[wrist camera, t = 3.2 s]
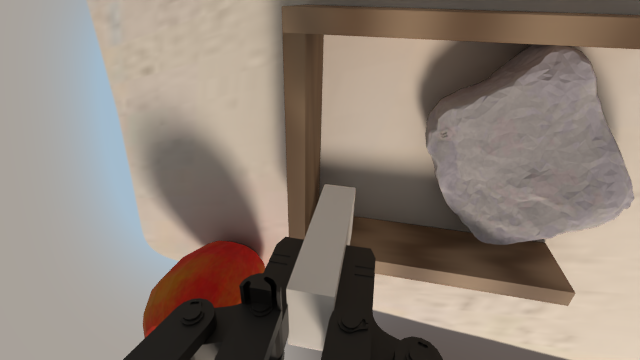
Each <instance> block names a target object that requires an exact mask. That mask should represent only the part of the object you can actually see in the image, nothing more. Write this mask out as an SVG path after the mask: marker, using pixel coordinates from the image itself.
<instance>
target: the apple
mask: <svg viewBox="0 0 640 360" xmlns="http://www.w3.org/2000/svg"><path fill="white" fill-rule="evenodd" d="M264 270H265V266H264V263H263V261H262V260H261V258H260V257H259V256H258V254H257V253H256V252H255V251H253V250H252V249H250V248H248V247H247V246H245V245H242V244H239V243H235V242H229V241H216V242H212V243H209V244H207V245H205V246H203V247H201V248H200V249H198V250H196V251H194V252H192V253H190V254H188V255H187V256H185V257H183V258H182V259H181V260H180V261H179V262H178V263H177V264H176V265H175V266H174V267H173V268H172V269H171V270H170V271H169V272H168V273H167V274H166V275H165V276H164V277H163V278H162V279H161V280H160V281H159V282H158V284H157V285H156V286H155V287H154V289H153V290H152V291H151V294H150V297H149V300H148V303H147V306H146V309H145V312H144V318H143V329H144V336H145V338H146V337H147V336H148V335H149V334H150V333H151V332H152V331H153V330H154V329H155V328H156V327H157V326H158V325H159V324H160V323H161V322H162V321H163V320H164V319H165V318H166V317H167V316H168V315H169V314H170V313H171V312H172V311H173V310H174V309H176V308H177V307H178V306H179V305H181V304H182V303H183V302H186V301H188V300H191V299H196V298H202V299H207V300H208V301H210V302H211V303H212V304H213V306H214V308H217V307H226V306H233V305H237V304H240V303H241V295H240V288H239V285H240V284H241V282H242V281H243V280H244V279H246V278H247V277H249V276H250V275H254V274H258V273H264Z"/></svg>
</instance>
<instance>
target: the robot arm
mask: <svg viewBox="0 0 640 360" xmlns="http://www.w3.org/2000/svg"><path fill="white" fill-rule="evenodd" d="M355 191H356V188H355V187H346V186H338V185H329V184H324V187H323V190H322V193H321V195H320V198H319V201H318V204H317V206H316V209H315V212H314V214H313V217H312V220H311V223H310V225H309V228H308V231H307V233H306V236H305V239H297V238H290V237H285V238H284V239H282V240H281V241H280V242H279V243H278V244H277V245H276V247H275V249H274V251H273V254H272V256H271V258H270V260H269V263H268V264H267V266H266V268H265V270H264V273H258V274H254V275H250V276H249V277H247V278H246V279H244V280H243V281H242V282H241V284H240V285H239V288H240V295H241V303H240V304H237V305H233V306H226V307H217V308H214V306H213V304H212V303H211V302H210V301H208V300H207V299H202V298H196V299H191V300H188V301H186V302H183V303H182V304H181V305H179V306H178V307H177V308H176V309H174V310H173V311H172V312H171V313H170V314H169V315H168V316H167V317H166V318H165V319H164V320H163V321H162V322H161V323H160V324H159V325H158V326H157V327H156V328H155V329H154V330H153V331H152V332H151V333H150V334H149V335H148V336H147V337H146V338H145V339H144V340H143V341H142V342H141V343H140V344H139V345H138V346H137V347H136V348H135V349H134V350H132V351H131V353H130V354H128V355H127V356H126V357H125V358H124V359H123V360H284V347H285V344H286V341H287V338H288V344H289V345H295V346H299V347H304V348H310V349H314V350H320V351H323V352H322V357H321V360H443V359H442V357H441V355H440V353H439V352H438V350H437V349H436V348H435V347H434V346H433V345H432V344H431V343H430V342H428V341H426V340H424V339H422V338H417V337H408V338H404V339H402V340H399V339H396V338H395V337H393V336H391V335H389V334H387V333H386V332H384V331H383V330H382V329H381V328H380V327H379V326H378V325H377V323H376V322H375V320H374V318H373V312H372V307H373V292H374V276H375V261H376V258H375V256H374V254H373V252H372V250H371V248H364V247H357V246H350V240H351V234H352V224H353V213H354V202H355Z"/></svg>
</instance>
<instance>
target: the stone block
mask: <svg viewBox="0 0 640 360" xmlns="http://www.w3.org/2000/svg"><path fill="white" fill-rule="evenodd" d="M426 146H427V149H428V152H429V154H430V155H431V156H432V160H433V163H434V168H435V176H436V178H437V180H438V183H439V187H440V190H441V192H442V194H443V197H444V199H445V201H446V203H447V205H448V206H449V207H450V209H451V210H452V211H453V212H454V213H455V214H457V215H458V216H459V218H460V220H461V222H463V223H464V224H465V225H466V226H467V227H468V228H469V229H470V231H471V232H472V233H473V235H474V236H475V237H476V238H477V239H478V240H480V241H481V242H484V243H488V244H489V243H491V244H497V245H508V244H513V243H517V242H525V241H531V240H538V239H547V238H552V237H554V236H556V235H559V234H563V233H566V232H575V231H582V230H585V229H590V228H593V227H598V226H600V225H603V224H605V223H607V222H609V221H611V220H614V219H615V218H617V217H618V216H619V215H620V213H621V212H622V211H623V209H628V208H629V207H630V205H631V202H632V201H633V200H634V194H633V190H632V183H631V179H630V176H629V174H628V171H627V169H626V167H625V163H624V160H623V157H622V155H621V152H620V150H619V148H618V145H617V143H616V141H615V139H614V137H613V135H612V133H611V131H610V129H609V127H608V125H607V122H606V120H605V117H604V114H603V112H602V108H601V103H600V100H599V97H598V95H597V83H596V75H595V73H594V70H593V67H592V65H591V62H590V61H589V60H588V58H587V57H586V56H585V55H584V54H583V53H582V52H581V51H579V50H576V49H574V48H572V47H571V46H561V45H540V44H532V45H531V46H529V47H528V48H526V49H525V50H523V51H522V52H520V53H519V54H518V55H517V56H516V57H514V58H513V59H511V60H509V61H508V62H507V63H506V64H505V65H504V66H502V67H501V68H499V69H498V70H497V71H495V72H494V73H493V74H492V75H491V76H490V77H489V78H488V79H486V80H484V81H483V82H481V83H478V84H475V85H472V86H469V87H466V88H462V89H460V90H458V91H456V92H454V93H453V94H451V95H449V96H446V97H444V98H442V99H441V100H440V101H439V102H438V104H437V105H436V106H435V108H434V109H433V110H432V111H431V112H430V114H429V117H428V120H427V127H426Z"/></svg>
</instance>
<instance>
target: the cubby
mask: <svg viewBox="0 0 640 360" xmlns="http://www.w3.org/2000/svg"><path fill="white" fill-rule="evenodd" d="M282 31H283V63H284V95H285V127H286V159H287V191H288V223H289V237H290V238H297V239H305V236H306V233H307V231H308V228H309V225H310V223H311V220H312V217H313V214H314V212H315V209H316V206H317V204H318V201H319V190H320V151H321V113H322V74H323V36H324V35H346V36H367V37H389V38H410V39H432V40H454V41H475V42H497V43H518V44H540V45H561V46H583V47H604V48H626V49H640V15H618V14H586V13H554V12H522V11H490V10H458V9H425V8H393V7H361V6H329V5H296V6H282ZM350 246H357V247H364V248H371V250H372V252H373V254H374V256H375V258H376V261H375V274H381V275H387V276H393V277H399V278H405V279H411V280H417V281H423V282H429V283H435V284H441V285H447V286H453V287H459V288H465V289H471V290H477V291H483V292H489V293H495V294H501V295H507V296H513V297H519V298H525V299H531V300H536V301H542V302H548V303H554V304H560V305H566V306H568V305H569V303H570V302H571V300H572V298H573V296H574V295H575V292H574V290H573V288H572V287H571V285H570V283H569V282H568V280H567V278H566V277H565V275H564V273H563V272H562V270H561V268H560V267H559V265H558V263H557V262H556V260H555V258H554V257H553V255H552V254H551V252H550V250H549V249H548V247H547V245H546V244H545V243H540V242H533V241H525V242H517V243H513V244H508V245H497V244H491V243H489V244H488V243H484V242H481V241H480V240H478V239H477V238H476V237H475V236H474V235H473V233H469V232H462V231H455V230H448V229H440V228H433V227H426V226H419V225H412V224H405V223H398V222H390V221H383V220H376V219H369V218H362V217H355V216H353V224H352V234H351V240H350Z"/></svg>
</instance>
